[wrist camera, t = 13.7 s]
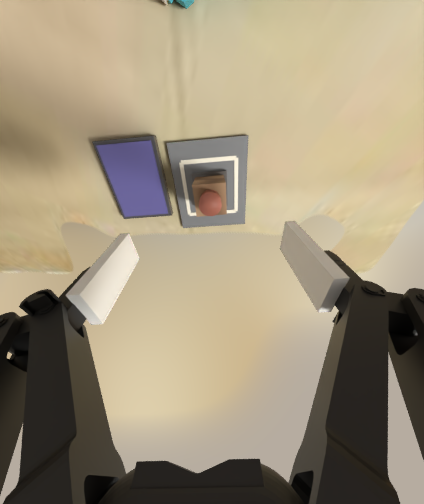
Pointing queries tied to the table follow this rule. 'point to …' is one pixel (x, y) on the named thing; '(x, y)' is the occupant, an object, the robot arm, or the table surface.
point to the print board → (204, 160)
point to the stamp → (210, 193)
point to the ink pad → (135, 176)
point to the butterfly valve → (183, 0)
